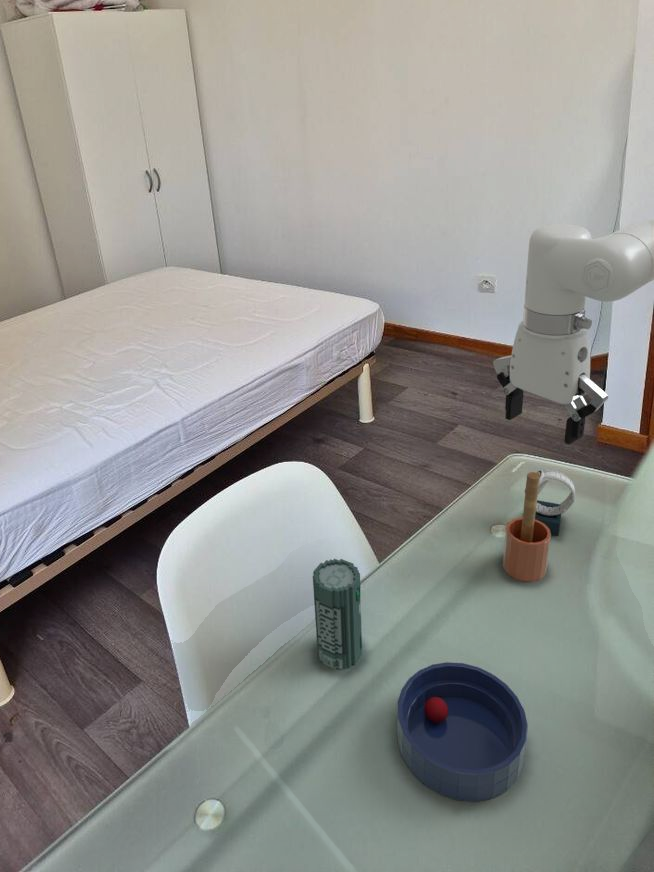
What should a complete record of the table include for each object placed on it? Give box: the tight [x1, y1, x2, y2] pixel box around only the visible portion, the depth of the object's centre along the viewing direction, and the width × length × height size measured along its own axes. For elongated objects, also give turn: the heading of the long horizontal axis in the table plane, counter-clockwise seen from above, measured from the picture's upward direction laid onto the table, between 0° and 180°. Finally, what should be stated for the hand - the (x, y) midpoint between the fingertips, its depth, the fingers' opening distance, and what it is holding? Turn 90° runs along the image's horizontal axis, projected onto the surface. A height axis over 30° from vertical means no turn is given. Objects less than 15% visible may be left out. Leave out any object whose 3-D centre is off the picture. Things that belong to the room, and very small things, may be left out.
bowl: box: [396, 661, 529, 803], centre depth 85 cm, size 15×15×6 cm
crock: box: [502, 517, 552, 583], centre depth 110 cm, size 7×7×8 cm
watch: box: [524, 469, 576, 537], centre depth 119 cm, size 6×8×11 cm
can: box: [312, 558, 363, 671], centre depth 96 cm, size 6×6×15 cm
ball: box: [424, 697, 448, 723], centre depth 88 cm, size 3×3×3 cm
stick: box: [520, 471, 540, 543], centre depth 108 cm, size 2×2×18 cm
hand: (542, 428), depth 100 cm, fingers open, 9 cm apart
